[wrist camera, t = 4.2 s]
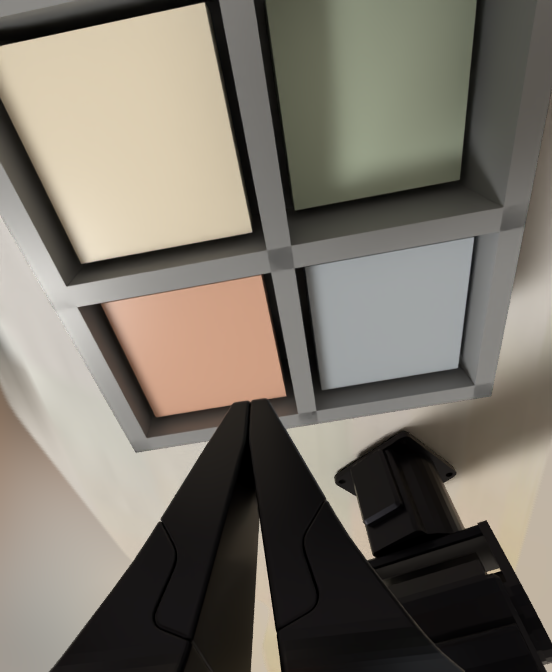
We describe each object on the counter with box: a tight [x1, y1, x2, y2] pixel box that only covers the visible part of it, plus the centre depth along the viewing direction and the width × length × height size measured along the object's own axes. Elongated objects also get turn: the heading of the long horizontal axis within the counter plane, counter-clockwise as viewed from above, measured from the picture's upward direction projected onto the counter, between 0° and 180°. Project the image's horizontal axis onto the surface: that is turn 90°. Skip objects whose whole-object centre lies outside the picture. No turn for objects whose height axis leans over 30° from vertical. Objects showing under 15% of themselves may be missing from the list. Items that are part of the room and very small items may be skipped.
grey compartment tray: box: [0, 0, 552, 453], centre depth 14 cm, size 20×16×6 cm
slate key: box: [303, 237, 474, 390], centre depth 16 cm, size 6×6×2 cm
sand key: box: [0, 2, 252, 264], centre depth 12 cm, size 6×6×2 cm
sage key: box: [264, 0, 477, 210], centre depth 13 cm, size 6×6×2 cm
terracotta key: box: [101, 274, 286, 417], centre depth 16 cm, size 6×6×2 cm
